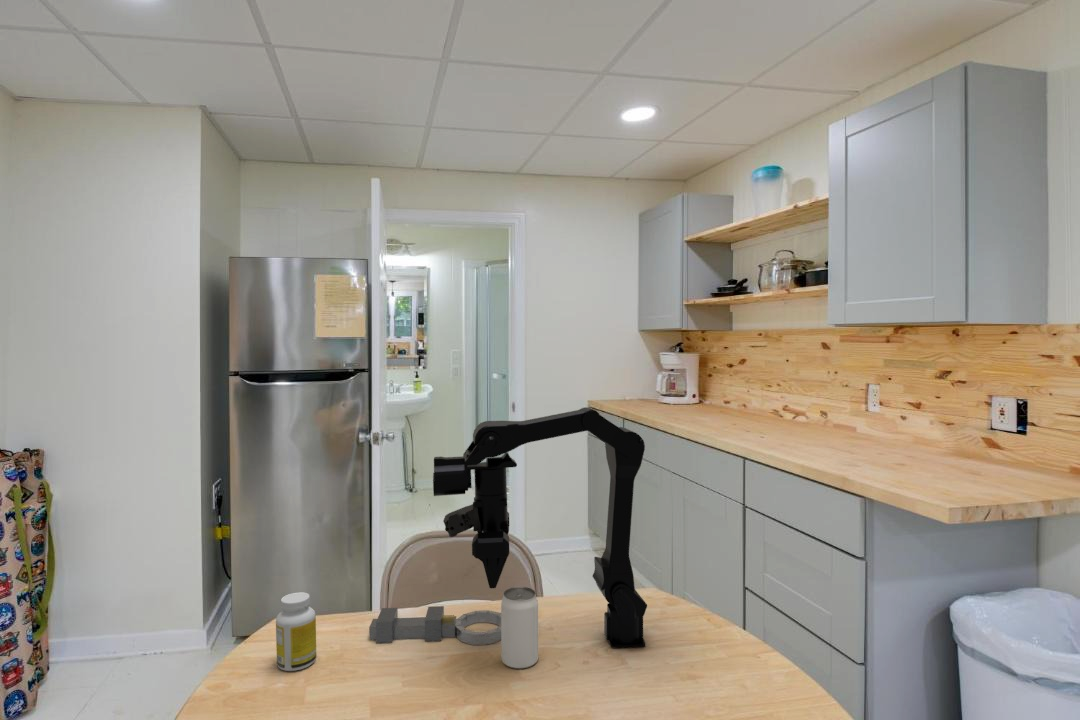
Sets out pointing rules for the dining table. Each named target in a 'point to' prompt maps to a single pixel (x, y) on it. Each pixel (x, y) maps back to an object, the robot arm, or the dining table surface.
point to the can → (519, 628)
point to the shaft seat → (434, 626)
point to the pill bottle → (296, 632)
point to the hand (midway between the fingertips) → (493, 577)
